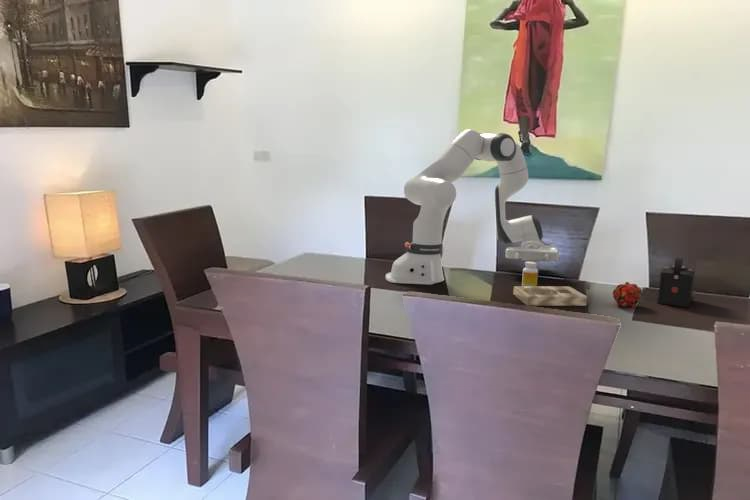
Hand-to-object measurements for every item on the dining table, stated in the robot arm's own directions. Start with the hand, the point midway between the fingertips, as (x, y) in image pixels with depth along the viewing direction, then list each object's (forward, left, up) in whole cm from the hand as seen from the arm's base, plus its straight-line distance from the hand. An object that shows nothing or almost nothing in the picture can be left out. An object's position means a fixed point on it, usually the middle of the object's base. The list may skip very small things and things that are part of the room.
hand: (531, 257), depth 217 cm
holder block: (-3, -28, -9) cm, 29 cm away
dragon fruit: (+20, -36, -10) cm, 42 cm away
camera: (+41, -30, -10) cm, 51 cm away
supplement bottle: (-4, -12, -10) cm, 16 cm away
